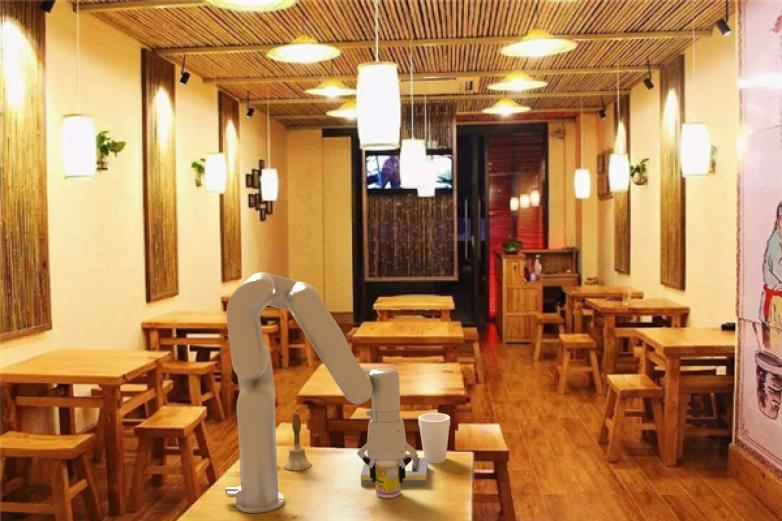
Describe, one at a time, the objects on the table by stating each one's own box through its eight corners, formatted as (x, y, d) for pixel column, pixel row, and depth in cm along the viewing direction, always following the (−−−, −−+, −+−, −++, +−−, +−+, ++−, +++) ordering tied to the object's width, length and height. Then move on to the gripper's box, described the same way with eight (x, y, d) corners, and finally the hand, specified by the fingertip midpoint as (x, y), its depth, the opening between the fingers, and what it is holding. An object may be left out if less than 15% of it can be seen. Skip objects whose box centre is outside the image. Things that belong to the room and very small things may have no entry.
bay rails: (372, 470, 203) (371, 467, 203) (375, 457, 213) (375, 454, 213) (416, 471, 202) (416, 467, 202) (418, 457, 212) (417, 454, 212)
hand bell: (296, 459, 222) (295, 408, 221) (317, 464, 218) (315, 412, 217) (277, 467, 216) (275, 415, 215) (298, 473, 211) (296, 419, 210)
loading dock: (361, 485, 200) (360, 474, 200) (366, 467, 214) (366, 457, 214) (426, 486, 198) (426, 474, 198) (427, 467, 213) (427, 457, 212)
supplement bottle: (372, 492, 195) (370, 445, 194) (394, 487, 198) (393, 441, 197) (381, 500, 189) (380, 452, 188) (404, 496, 192) (403, 448, 191)
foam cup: (451, 454, 223) (450, 413, 223) (450, 465, 214) (449, 421, 213) (420, 454, 224) (419, 413, 224) (418, 464, 215) (417, 421, 214)
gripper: (351, 419, 189) (353, 486, 190) (418, 419, 188) (419, 486, 189) (355, 411, 196) (357, 475, 198) (419, 411, 195) (420, 476, 196)
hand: (387, 480), depth 193 cm, fingers closed on supplement bottle, 6 cm apart
